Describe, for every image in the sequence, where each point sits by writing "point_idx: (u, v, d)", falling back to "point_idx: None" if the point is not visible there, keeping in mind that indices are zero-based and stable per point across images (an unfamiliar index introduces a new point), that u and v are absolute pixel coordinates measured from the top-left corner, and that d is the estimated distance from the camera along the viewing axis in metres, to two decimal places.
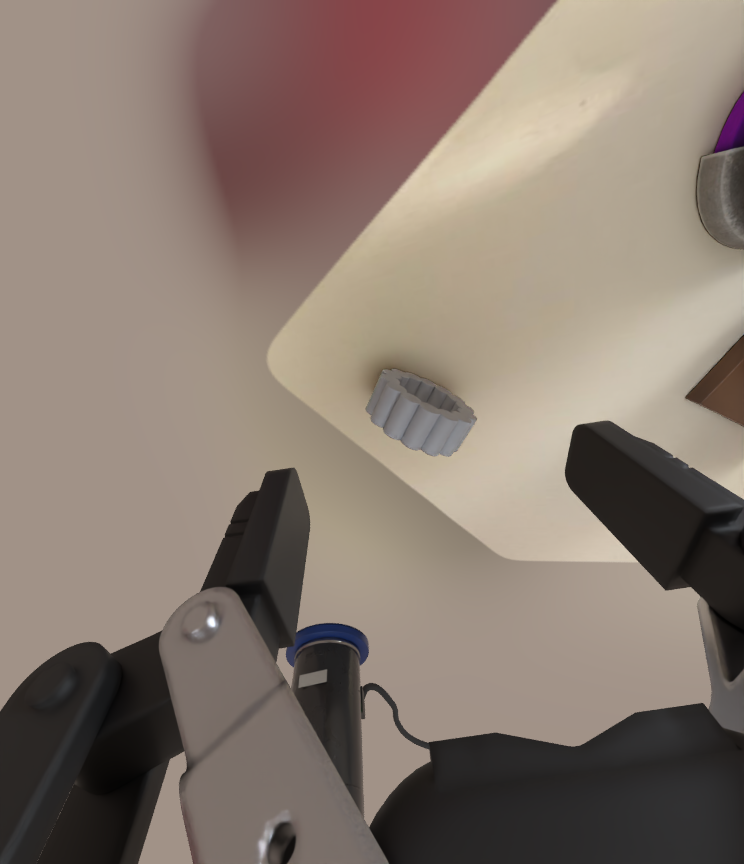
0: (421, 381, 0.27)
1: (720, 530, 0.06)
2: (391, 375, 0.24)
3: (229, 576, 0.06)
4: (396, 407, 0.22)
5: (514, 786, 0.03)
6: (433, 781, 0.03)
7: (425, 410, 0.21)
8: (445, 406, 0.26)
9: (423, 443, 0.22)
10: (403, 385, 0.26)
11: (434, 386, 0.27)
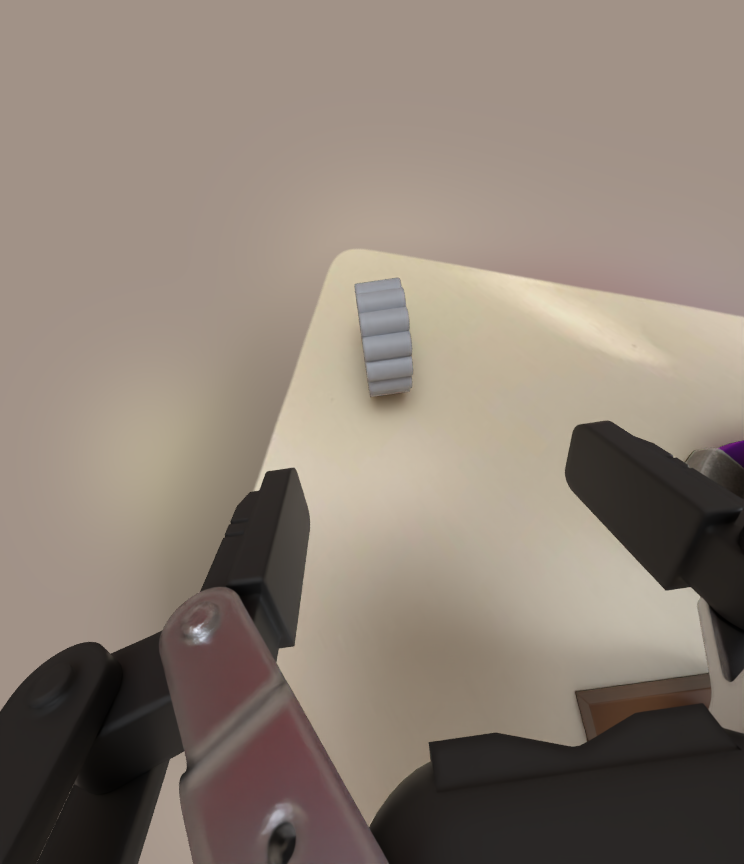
0: None
1: (720, 530, 0.06)
2: None
3: (229, 576, 0.06)
4: (385, 279, 0.22)
5: (514, 786, 0.03)
6: (433, 781, 0.03)
7: (402, 288, 0.20)
8: None
9: (367, 309, 0.20)
10: None
11: None
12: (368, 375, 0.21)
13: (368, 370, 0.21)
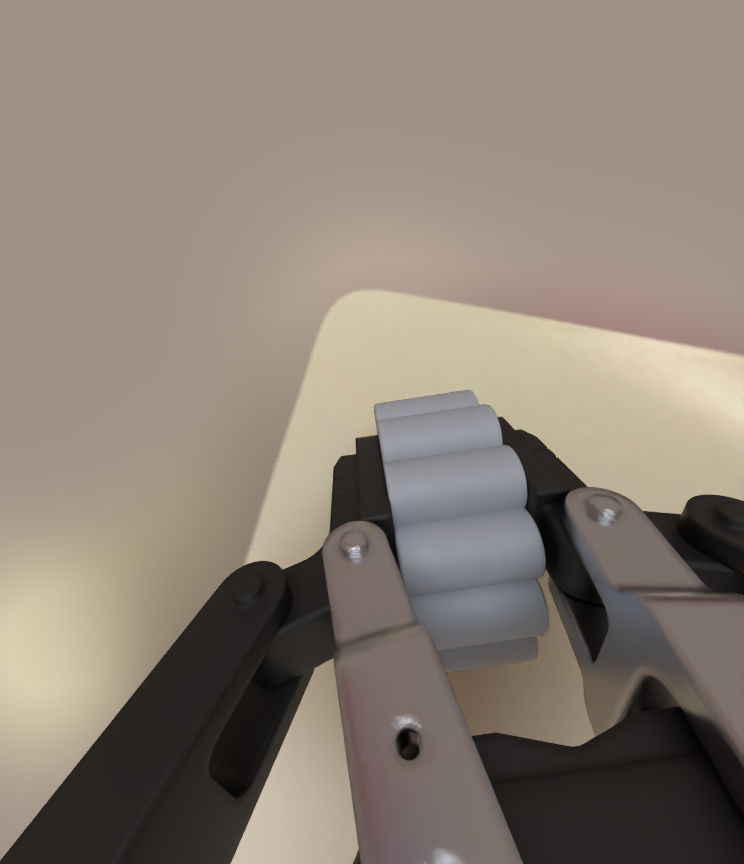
0: None
1: (552, 509, 0.07)
2: None
3: (360, 514, 0.07)
4: (454, 408, 0.09)
5: (514, 786, 0.03)
6: None
7: (513, 454, 0.07)
8: None
9: (418, 519, 0.07)
10: None
11: None
12: None
13: None
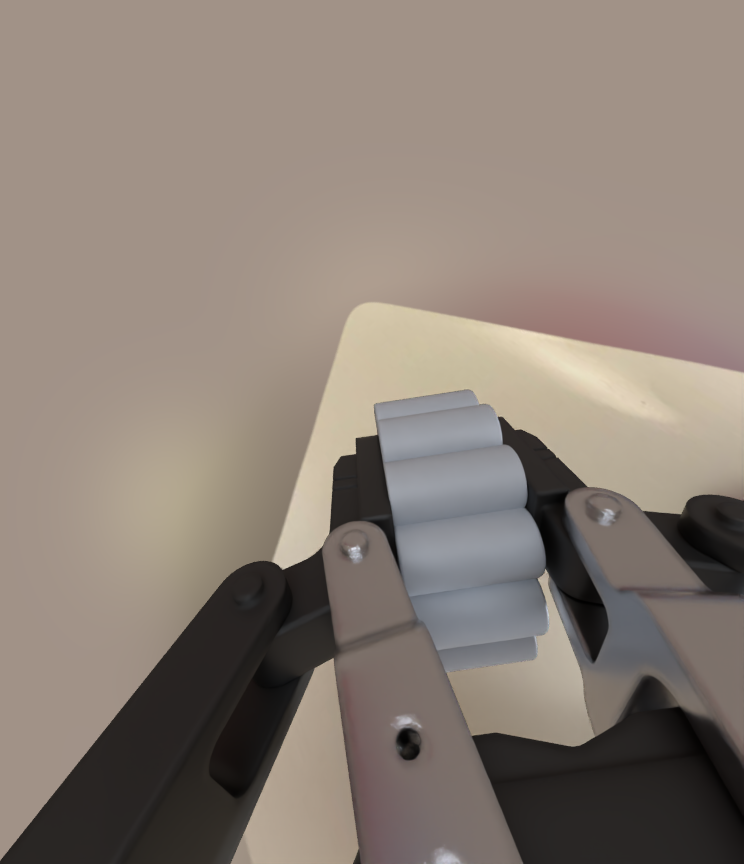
0: None
1: (552, 509, 0.07)
2: None
3: (360, 514, 0.07)
4: (454, 408, 0.09)
5: (514, 786, 0.03)
6: None
7: (514, 453, 0.07)
8: None
9: (418, 518, 0.07)
10: None
11: None
12: None
13: None
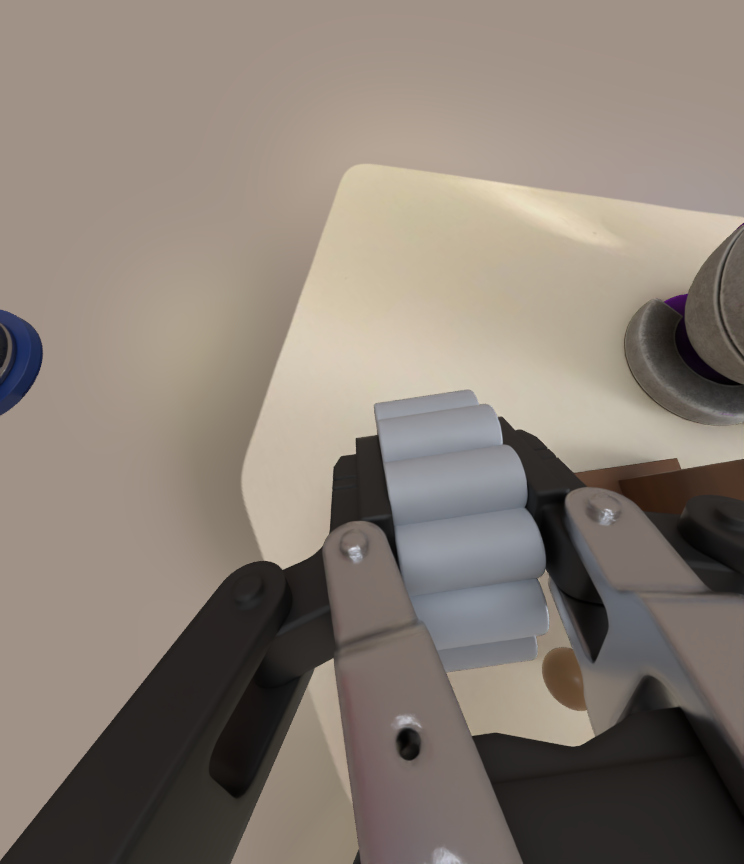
0: None
1: (552, 509, 0.07)
2: None
3: (360, 514, 0.07)
4: (454, 408, 0.09)
5: (514, 786, 0.03)
6: None
7: (514, 453, 0.07)
8: None
9: (418, 518, 0.07)
10: None
11: None
12: None
13: None
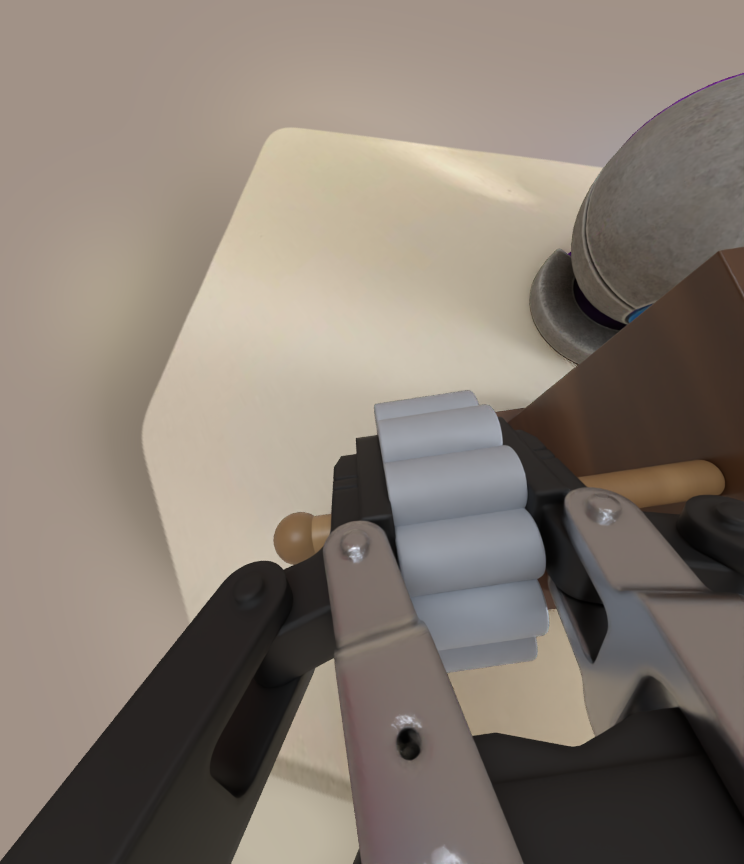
0: None
1: (551, 509, 0.07)
2: None
3: (361, 514, 0.07)
4: (454, 408, 0.09)
5: (514, 786, 0.03)
6: None
7: (514, 454, 0.07)
8: None
9: (418, 519, 0.07)
10: None
11: None
12: None
13: None
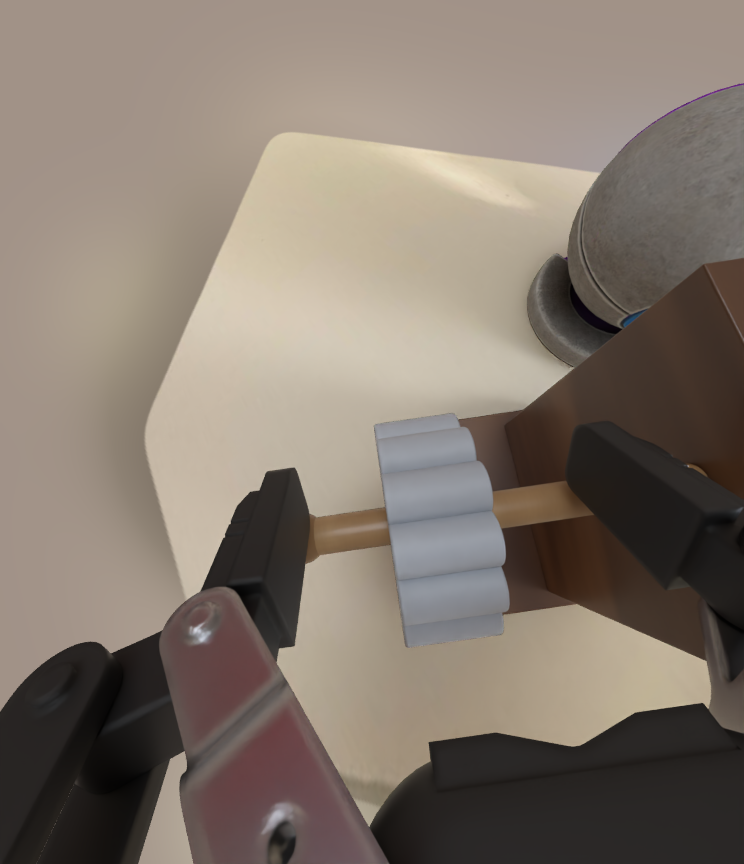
0: None
1: (719, 530, 0.06)
2: None
3: (229, 576, 0.06)
4: (439, 430, 0.11)
5: (514, 786, 0.03)
6: (433, 781, 0.03)
7: (483, 468, 0.09)
8: None
9: (408, 519, 0.09)
10: None
11: None
12: (407, 645, 0.10)
13: (408, 638, 0.10)
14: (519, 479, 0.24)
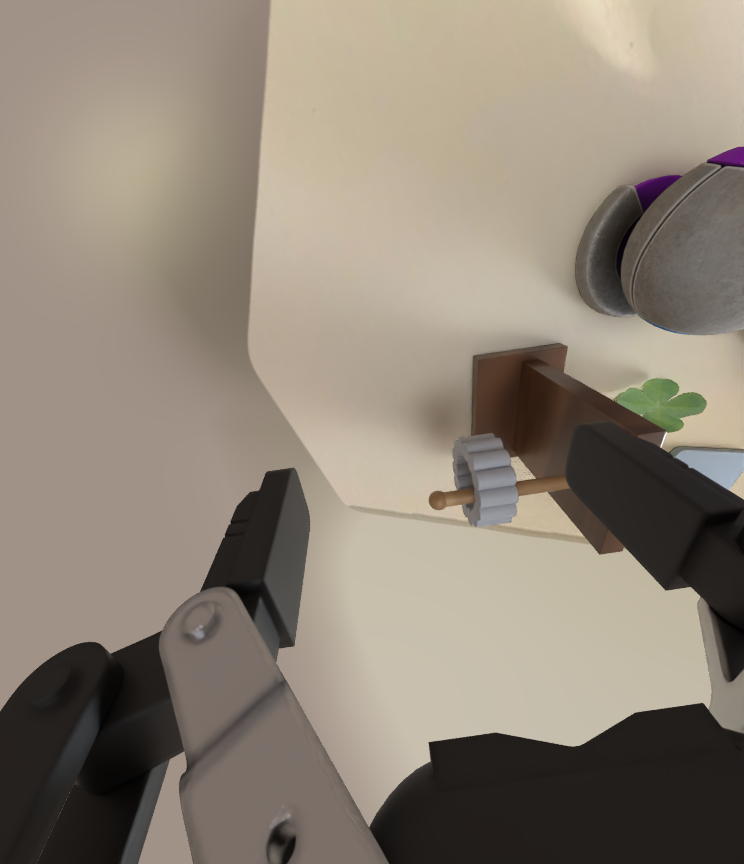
0: None
1: (720, 530, 0.06)
2: None
3: (229, 576, 0.06)
4: (503, 471, 0.25)
5: (514, 786, 0.03)
6: (433, 781, 0.03)
7: (517, 494, 0.25)
8: None
9: (486, 507, 0.26)
10: None
11: None
12: (471, 524, 0.29)
13: (472, 524, 0.29)
14: (519, 397, 0.38)
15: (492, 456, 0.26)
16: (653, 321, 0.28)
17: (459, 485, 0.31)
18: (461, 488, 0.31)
